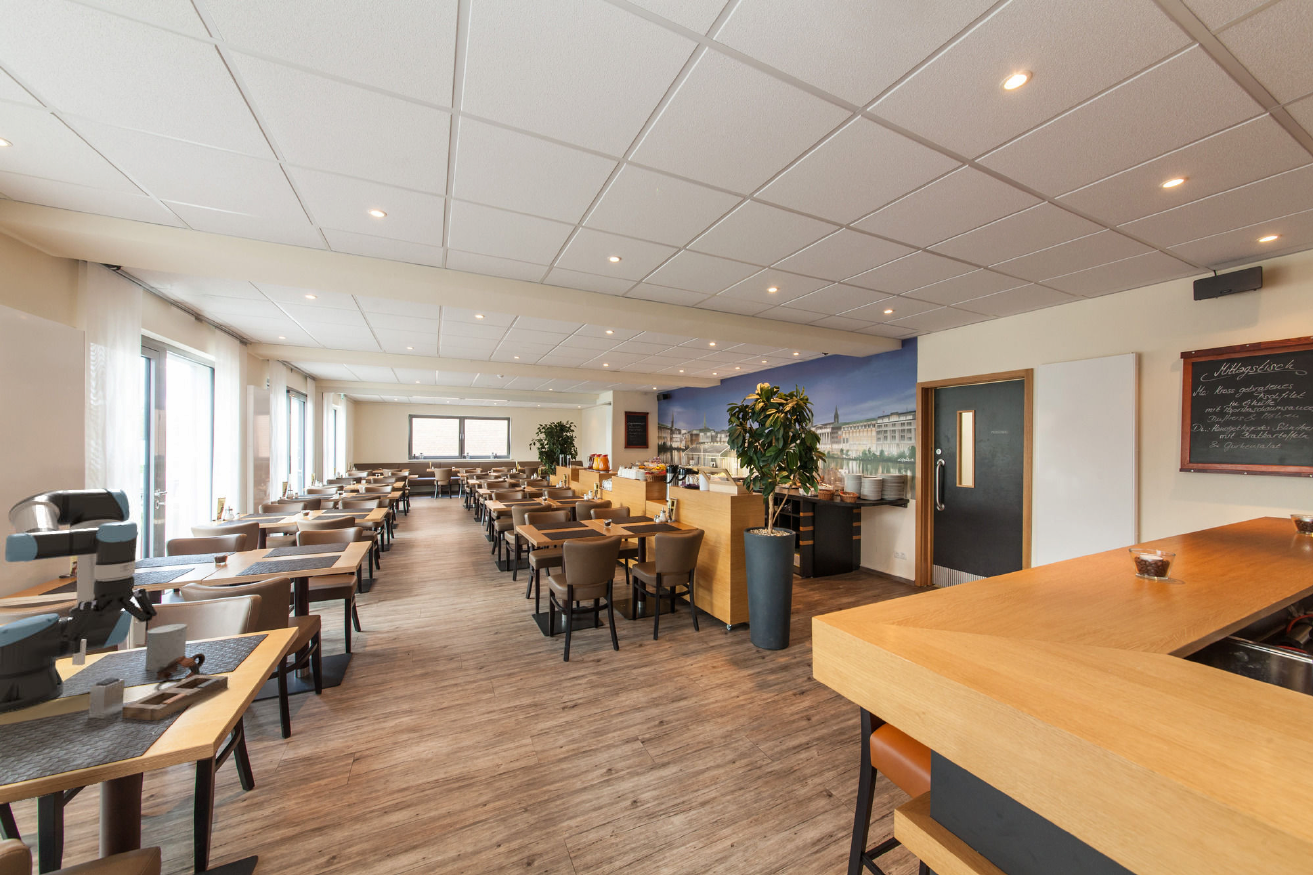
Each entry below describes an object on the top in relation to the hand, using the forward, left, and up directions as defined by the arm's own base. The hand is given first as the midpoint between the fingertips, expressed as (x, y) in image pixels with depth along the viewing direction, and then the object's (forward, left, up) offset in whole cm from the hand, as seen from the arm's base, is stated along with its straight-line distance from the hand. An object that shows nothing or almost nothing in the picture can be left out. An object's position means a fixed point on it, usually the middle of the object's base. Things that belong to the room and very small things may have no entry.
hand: (110, 653), depth 131 cm
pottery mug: (-2, +21, -17) cm, 27 cm away
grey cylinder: (-18, +29, -17) cm, 38 cm away
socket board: (+12, +8, -16) cm, 22 cm away
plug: (0, 0, -16) cm, 16 cm away
